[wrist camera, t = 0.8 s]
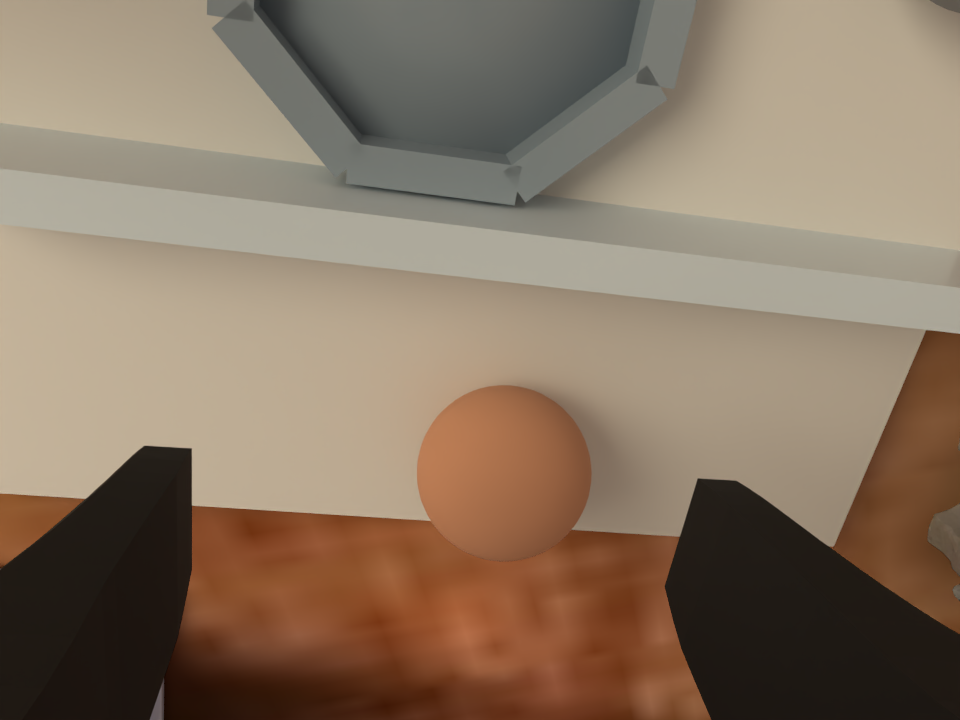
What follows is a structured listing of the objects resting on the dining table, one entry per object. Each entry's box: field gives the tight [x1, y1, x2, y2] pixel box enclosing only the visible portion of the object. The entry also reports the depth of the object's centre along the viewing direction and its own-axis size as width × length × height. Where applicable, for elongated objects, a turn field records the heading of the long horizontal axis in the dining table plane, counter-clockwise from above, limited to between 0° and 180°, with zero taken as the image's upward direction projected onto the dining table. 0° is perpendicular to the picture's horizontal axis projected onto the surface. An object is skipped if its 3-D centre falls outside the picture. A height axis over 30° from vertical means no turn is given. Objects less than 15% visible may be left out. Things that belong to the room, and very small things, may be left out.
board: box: [0, 0, 960, 547], centre depth 19 cm, size 18×23×1 cm
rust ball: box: [417, 385, 592, 561], centre depth 20 cm, size 4×4×4 cm
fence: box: [0, 123, 960, 334], centre depth 18 cm, size 1×23×3 cm, turn 81°
